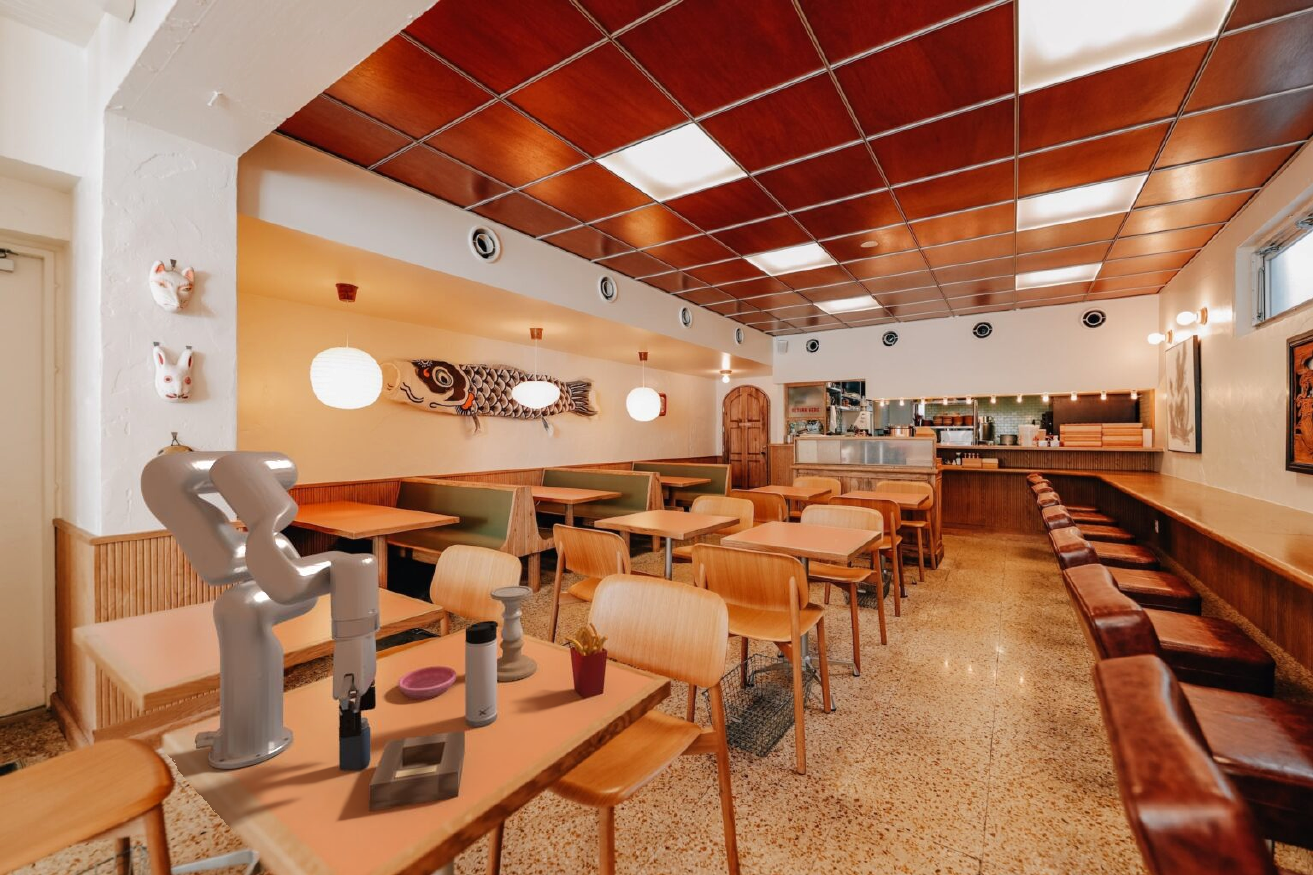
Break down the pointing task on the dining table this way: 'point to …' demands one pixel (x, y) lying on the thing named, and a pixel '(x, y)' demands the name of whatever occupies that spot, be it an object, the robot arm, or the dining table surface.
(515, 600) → the candle holder
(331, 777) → the dining table surface
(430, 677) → the saucer
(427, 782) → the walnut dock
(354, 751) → the vaping device
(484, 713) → the travel mug
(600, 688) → the french fries
